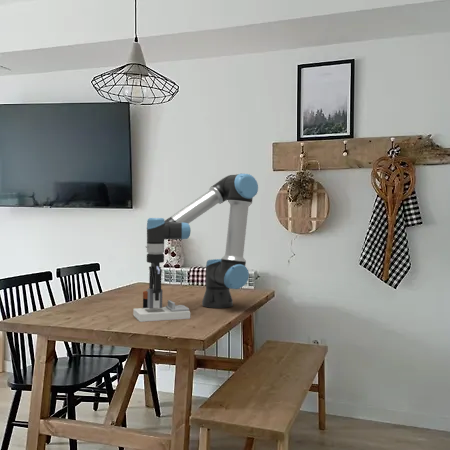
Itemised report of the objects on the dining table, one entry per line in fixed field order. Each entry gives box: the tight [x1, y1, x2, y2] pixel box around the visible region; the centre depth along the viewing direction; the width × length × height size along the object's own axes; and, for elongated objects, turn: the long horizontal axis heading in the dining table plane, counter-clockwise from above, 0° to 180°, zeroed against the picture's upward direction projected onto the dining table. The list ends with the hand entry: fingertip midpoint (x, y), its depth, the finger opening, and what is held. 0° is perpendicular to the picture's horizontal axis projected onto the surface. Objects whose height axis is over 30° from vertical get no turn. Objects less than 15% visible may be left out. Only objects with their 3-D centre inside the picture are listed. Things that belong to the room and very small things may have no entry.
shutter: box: [165, 299, 190, 311], centre depth 229 cm, size 8×10×3 cm
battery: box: [142, 289, 148, 308], centre depth 242 cm, size 4×7×10 cm, turn 151°
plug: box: [147, 284, 163, 309], centre depth 225 cm, size 6×4×10 cm
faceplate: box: [132, 306, 191, 323], centre depth 226 cm, size 22×14×3 cm, turn 111°
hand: (154, 306), depth 225 cm, fingers closed on plug, 4 cm apart
